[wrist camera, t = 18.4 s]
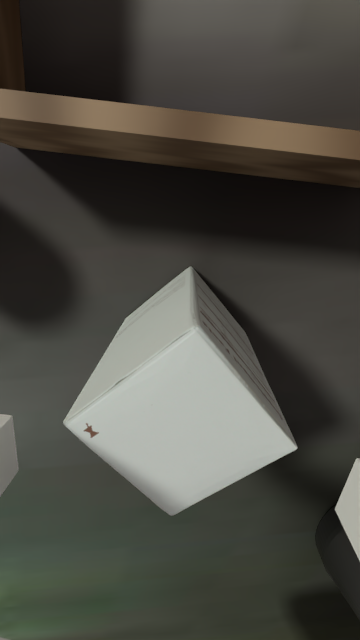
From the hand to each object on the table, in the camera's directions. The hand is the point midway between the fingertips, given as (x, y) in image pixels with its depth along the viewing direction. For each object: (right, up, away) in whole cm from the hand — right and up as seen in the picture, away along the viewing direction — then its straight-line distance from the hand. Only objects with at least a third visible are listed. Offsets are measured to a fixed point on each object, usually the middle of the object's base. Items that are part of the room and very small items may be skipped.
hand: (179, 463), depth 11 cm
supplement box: (0, +5, +13) cm, 14 cm away
